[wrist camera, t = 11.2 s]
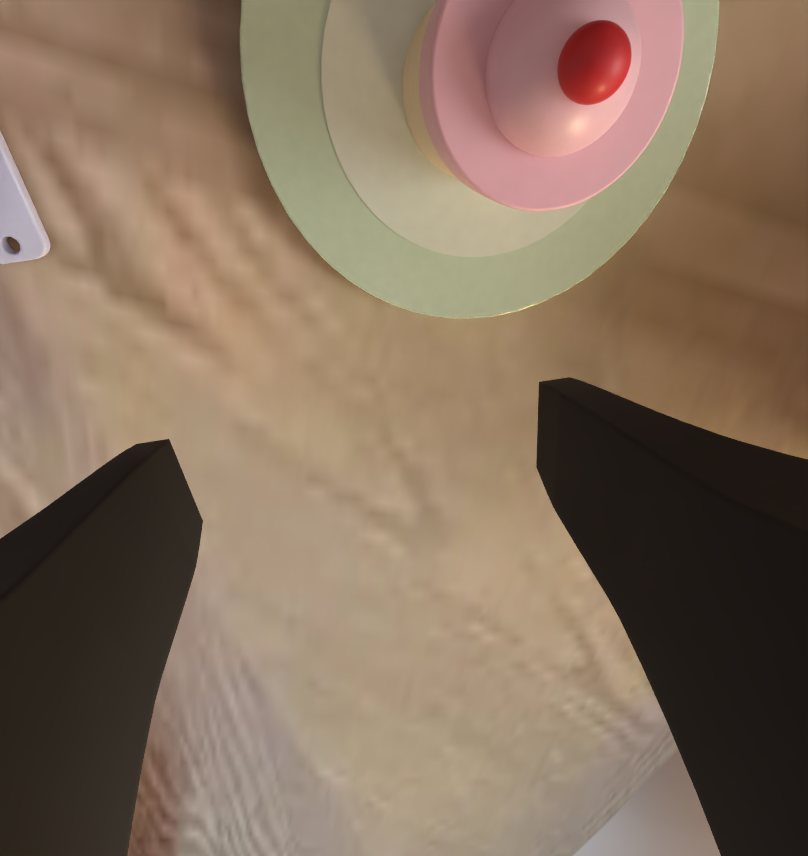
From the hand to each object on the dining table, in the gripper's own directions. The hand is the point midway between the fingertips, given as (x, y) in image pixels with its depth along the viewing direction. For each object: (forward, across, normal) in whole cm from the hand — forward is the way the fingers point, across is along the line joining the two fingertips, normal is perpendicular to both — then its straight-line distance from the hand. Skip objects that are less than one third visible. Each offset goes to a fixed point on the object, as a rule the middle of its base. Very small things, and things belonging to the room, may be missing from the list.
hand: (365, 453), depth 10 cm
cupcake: (+9, -5, -6) cm, 12 cm away
